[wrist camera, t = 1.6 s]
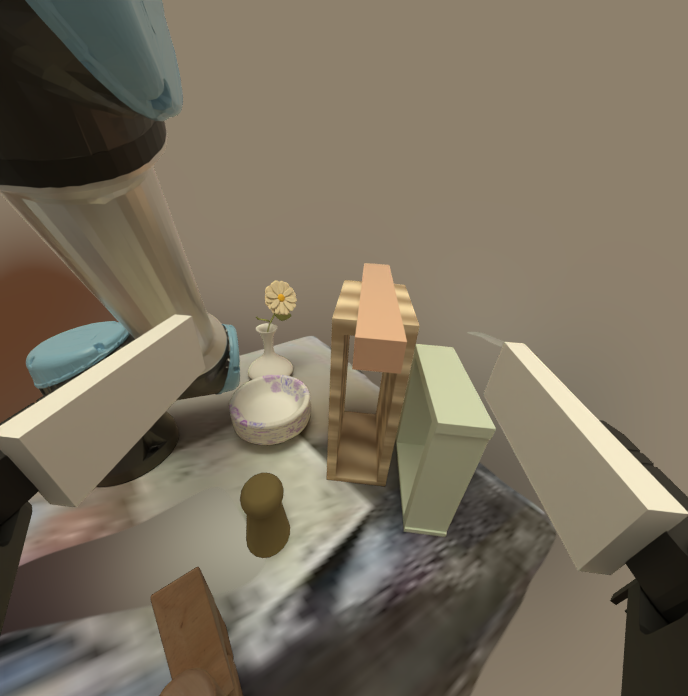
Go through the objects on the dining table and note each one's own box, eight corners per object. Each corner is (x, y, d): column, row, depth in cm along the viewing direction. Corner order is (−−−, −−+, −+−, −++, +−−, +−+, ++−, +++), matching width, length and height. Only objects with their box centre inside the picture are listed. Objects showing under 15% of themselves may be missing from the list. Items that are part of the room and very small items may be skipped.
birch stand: (385, 486, 46) (419, 325, 31) (326, 479, 46) (332, 318, 31) (382, 418, 59) (405, 285, 44) (337, 413, 60) (344, 280, 45)
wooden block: (225, 622, 30) (188, 541, 21) (261, 765, 23) (226, 733, 14) (189, 650, 28) (131, 574, 19) (215, 816, 21) (141, 816, 12)
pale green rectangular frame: (445, 536, 39) (495, 429, 28) (403, 531, 40) (438, 422, 29) (425, 441, 54) (453, 347, 43) (395, 438, 55) (415, 344, 44)
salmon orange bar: (400, 374, 22) (407, 341, 21) (352, 369, 22) (355, 337, 21) (386, 283, 45) (389, 265, 43) (362, 281, 45) (364, 263, 43)
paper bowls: (219, 449, 50) (211, 418, 46) (255, 397, 63) (251, 369, 59) (298, 463, 49) (297, 432, 45) (318, 406, 62) (318, 378, 58)
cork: (293, 512, 41) (290, 466, 36) (285, 559, 36) (279, 513, 30) (254, 510, 41) (244, 463, 36) (239, 556, 36) (226, 510, 30)
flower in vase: (252, 392, 65) (237, 291, 52) (245, 367, 73) (231, 276, 61) (304, 381, 70) (302, 286, 57) (292, 358, 78) (288, 272, 66)
